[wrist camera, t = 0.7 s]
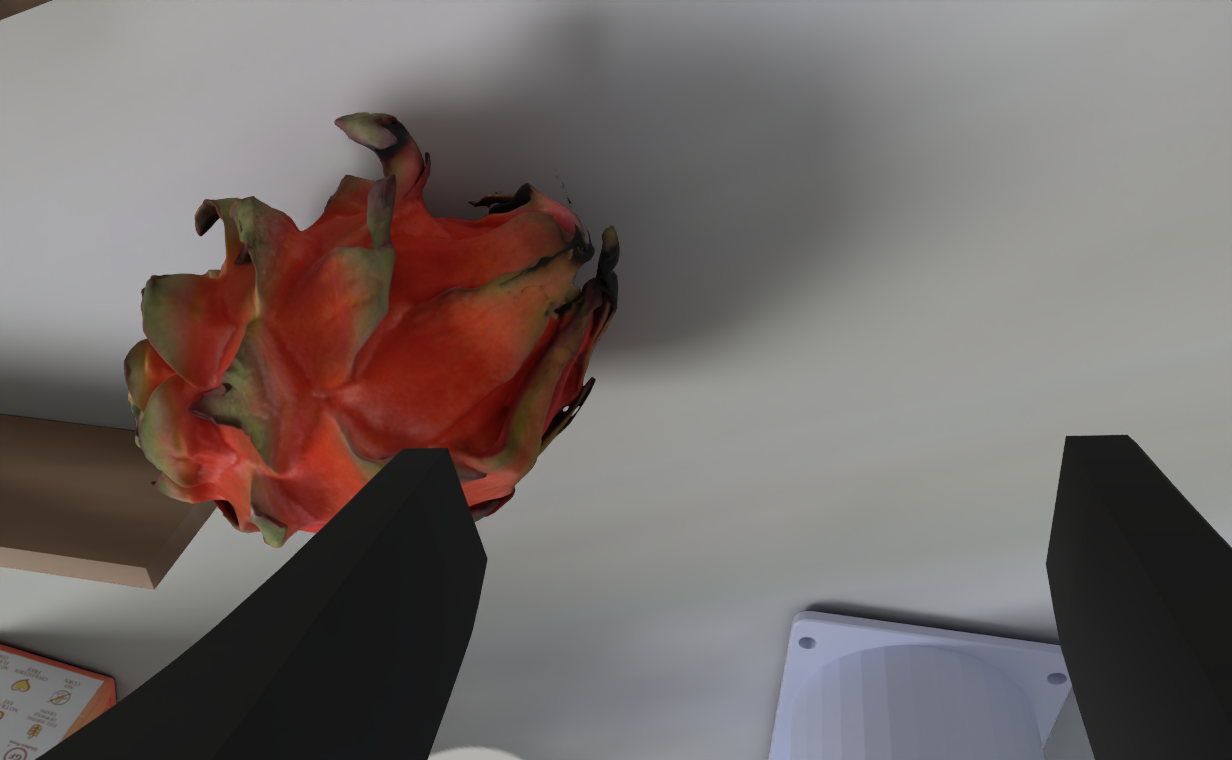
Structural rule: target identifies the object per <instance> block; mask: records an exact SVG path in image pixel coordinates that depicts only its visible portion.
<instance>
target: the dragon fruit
mask: <svg viewBox="0 0 1232 760" xmlns="http://www.w3.org/2000/svg"><path fill="white" fill-rule="evenodd" d="M335 125H336V126H338V127H339V128H340V129H341V130H343V131H344V132H345V133H346V134H347V136H348V137H349V138H350V139H352V140H354V141H355V142H357V143H359V144H361V145H364V146H366V147H367V148H369V149H371V150H373V151H374V152H375V153H376V154H377V156H378V157H379V159H380V161H381V163H382V166H383V172H384V176H385V178H383V179H381V180H378V181H376V182H374V181H370V180H366V179H362V178H358V177H354V176H351V175H345V177H344V178H343V179H342V180H341V182H340V185H339V187H338V189H337V191H336V193H335V194H334V195H333V196H331V197H330V198H329V200H328V202H327V205H326V207H325V209H324V213H323V214H322V216H321V217H320V218H319V219H318V220H317V221H316V222H315V223H314V224H313V225H312V226H310V227H309V228H307V229H306V230H304V231H300V230H299V229H298V228H297V226H296V224H295V223H294V222H293V220H292V219H291V218H290V217H289V216H287V215H286V214H285V213H283V212H282V211H279V210H277V209H274V208H271V207H270V206H268V205H267V204H265V203H263V202H261V201H260V200H258V199H256V198H255V197H254V196H251V197H247V198H244V199H239V198H226V199H219V200H209V199H206V200H204V202H203V204H202V205H201V206H200V207H199V208H198V210H197V212H196V214H195V227H196V231H197V233H198V235H199V236H202V235H204V234H205V233H206V232H207V231H208V230H209V229H210V228H211V227H212V226H213V224H214V223H215V222H216V221H217V220H218V219H219V218H221V219H222V220H223V222H224V226H225V245H226V260H225V262H224V264H223V265H222V268H221V270H208V271H207V273H206V274H204V275H195V274H173V275H162V276H156V275H154V276H153V275H152V276H151V278H150V279H149V280H148V281H147V283H146V287H145V288H143V289H142V291H141V293H142V302H141V311H142V316H143V331H144V333H145V335H146V337H147V339H145V340H142V341H140V342H138V343H137V344H136V345H135V346H134V347H133V348H132V349H131V350H130V351H129V353H128V355H127V356H126V358H125V360H124V372H125V379H126V382H127V385H128V388H129V393H128V401H129V402H130V405H131V410H132V414H133V415H134V416H135V421H136V429H135V434H136V436H135V442H136V444H137V446H138V447H140V448H141V449H142V450H143V451H144V454H145V457H146V458H147V459H148V460H149V461H150V462H151V463H152V464H153V465H155V467H156V468H157V469H159V470H162V471H163V472H162V473H161V474H160V476H159V477H158V479H157V481H153V482H151V485H153V486H154V487H155V488H156V489H157V490H159V491H160V492H162V493H164V494H165V495H167V496H169V497H171V498H174V499H177V500H180V501H183V502H189V503H191V504H194V503H200V502H204V501H210V500H213V501H214V502H215V504H216V505H217V506H218V508H219V509H220V510H221V511H222V512H223V516H224V517H226V518H227V520H228V521H229V522H230V523H231V524H232V526H233V527H234V528H235V529H237V530H239V531H241V532H246V533H252V532H262V534H263V538H264V542H265V543H266V544H268V545H271V546H272V547H274V548H279V547H282V546H283V545H284V543H285V542H286V541H287V539H288V538H289V537H291V536H292V535H293V534H294V533H295V532H297V531H298V530H302V531H307V532H313V533H317V532H318V531H319V530H321V529H322V528H323V527H324V526H325V525H326V524H327V523H328V522H329V521H330V520H331V519H332V518H333V517H334V516H335V515H336V514H337V513H338V512H339V511H340V510H341V509H342V508H343V507H344V506H345V505H346V504H347V503H348V502H349V501H350V500H351V499H352V498H353V497H354V496H355V495H356V494H357V493H358V492H359V491H360V490H361V489H362V488H363V487H364V486H365V485H366V484H367V483H368V482H369V481H370V480H371V479H372V478H373V477H374V476H375V475H376V474H377V473H378V472H379V471H380V470H381V469H382V468H383V467H384V466H385V465H386V464H387V463H388V462H389V461H390V460H392V459H393V458H394V457H395V456H396V455H397V454H398V453H399V452H400V451H401V450H402V449H407V448H448V449H449V452H450V455H451V458H452V461H453V464H454V466H455V469H456V472H457V475H458V478H459V480H460V483H461V486H462V489H463V492H464V494H465V497H466V500H467V503H468V506H469V508H470V511H471V514H472V517H473V520H474V522H476V521H478V520H480V519H481V518H483V517H486V516H489V515H491V514H493V513H495V512H496V511H497V510H498V509H499V508H501V507H502V506H503V505H504V504H505V503H506V502H508V501H509V500H510V499H511V498H512V497H513V495H514V493H515V485H516V484H517V483H518V482H519V481H520V480H521V479H522V478H523V477H524V476H525V475H526V474H527V473H528V472H529V471H530V470H531V469H532V468H533V466H534V465H535V463H536V460H537V457H538V456H539V455H540V454H541V453H542V452H543V451H544V450H545V449H546V447H547V446H548V445H549V444H550V443H551V441H552V440H553V439H554V438H555V437H556V436H557V435H558V434H560V433H561V432H562V431H563V430H564V429H565V428H566V427H567V426H568V425H569V424H570V423H571V421H572V420H573V418H574V417H575V415H576V414H577V412H578V411H579V409H580V408H581V406H582V405H583V403H584V402H585V400H586V399H587V397H588V395H589V393H590V392H591V389H592V387H593V385H594V383H595V378H593V377H591V378H590V380H589V381H588V382H587V383H586V384H585V386H583V380H584V376H585V373H586V370H587V367H588V364H589V360H590V356H591V353H592V351H593V348H594V347H595V345H596V343H597V342H598V341H599V339H600V338H601V336H602V335H603V333H604V332H605V331H606V329H607V327H608V325H609V324H610V322H611V320H612V318H613V316H614V314H615V312H616V309H617V294H618V281H617V275H616V274H615V272H614V271H613V269H614V267H615V266H616V264H617V262H618V259H619V253H620V249H619V242H618V237H617V234H616V231H615V228H614V226H610V227H609V228H606V229H605V230H604V232H603V234H602V240H603V244H602V249H601V253H600V257H599V262H598V269H597V275H596V278H592V279H590V280H589V281H588V282H587V283H586V284H585V285H584V286H583V289H582V292H581V291H580V289H579V288H578V287H577V286H576V285H575V284H574V283H573V282H572V281H573V279H574V278H575V277H576V276H575V275H576V272H577V270H578V269H579V268H580V267H581V266H582V265H583V264H584V263H585V262H587V261H589V260H590V259H591V258H592V257H593V255H594V253H595V249H594V247H593V245H592V243H591V240H590V235H589V244H588V243H587V242H586V241H585V239H584V237H585V234H584V230H583V227H582V224H581V222H580V220H579V218H578V217H577V216H576V215H575V214H574V213H572V212H571V211H570V210H569V209H567V208H566V207H565V206H563V205H562V204H560V203H558V202H556V201H555V200H553V199H551V198H549V197H548V196H546V195H545V194H543V193H541V192H540V191H538V190H537V189H535V188H534V187H533V186H531V185H530V184H528V183H526V184H524V185H522V187H521V188H520V189H519V190H518V191H517V193H516V194H513V195H499V194H497V193H496V194H489V195H486V196H484V197H482V198H481V199H480V200H477V201H470V202H468V203H470V204H471V205H473V206H475V207H478V206H487V207H490V205H491V204H495V203H498V204H496V205H494V206H493V207H492V208H491V209H490V208H489V209H490V210H489V214H488V216H485V217H484V218H482V219H480V220H473V221H466V220H461V219H456V218H434V217H432V216H431V215H430V214H429V212H428V211H427V209H426V207H425V204H424V201H423V197H422V190H423V188H424V186H425V184H426V182H427V179H428V177H429V174H430V165H431V161H430V155H429V153H428V152H426V153H425V162H426V166H425V167H424V160H423V157H422V154H421V152H420V150H419V148H418V146H417V144H416V142H415V141H414V140H413V138H412V137H411V136H410V134H409V133H408V131H407V130H406V128H405V127H404V126H403V124H402V123H400V122H399V121H398V120H397V119H396V117H394V116H391V115H388V114H383V113H375V114H369V113H355V114H352V115H346V116H342V117H340V118H338V119H336V120H335ZM555 170H556V169H555ZM557 178H558V177H557ZM562 184H563V183H562ZM563 186H564V185H563ZM562 188H563V187H562ZM564 188H565V187H564ZM500 193H501V192H500ZM566 193H567V192H566ZM565 195H566V194H565ZM567 196H568V195H567ZM567 196H566V197H567ZM567 199H568V201H569V205H570V203H571V202H570V200H569V198H567ZM571 204H572V203H571ZM580 217H581V216H580ZM587 231H588V230H587ZM588 234H589V232H588ZM566 406H569V408H568V410H567V411H563V408H564V407H566ZM578 406H580V407H579V409H578V410H577V412H576V413H575V414H574V415H573V416H572V414H573V412H574V410H575V409H576V408H577V407H578Z"/></svg>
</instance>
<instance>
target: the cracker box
mask: <svg viewBox="0 0 1232 760" xmlns="http://www.w3.org/2000/svg"><path fill="white" fill-rule="evenodd" d="M116 704H117V702H116V691H115V682H114V679H113V678H111V677H107V676H104V675H101V674H97V673H94V672H90V671H87V670H83V669H80V668H77V667H74V666H71V665H67V664H64V663H61V662H58V661H54V660H51V659H48V658H44V657H41V656H37V655H34V654H30V653H27V652H24V651H21V650H18V649H15V648H12V647H8V646H5V645H2V644H0V760H35V759H36V758H38V757H40V756H41V755H43V754H44V753H46V752H47V751H48V750H50V749H51V748H53V747H54V746H56V745H57V744H59V743H60V742H62V741H63V740H64V739H66V738H67V737H69V736H70V735H72V734H73V733H75V732H76V731H78V730H79V729H81V728H82V727H83V726H85V725H86V724H88V723H89V722H91V721H92V720H94V719H95V718H97V717H98V716H100V715H101V714H102V713H104V712H105V711H107V710H108V709H110V708H111V707H113V706H114V705H116Z"/></svg>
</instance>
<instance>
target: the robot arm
mask: <svg viewBox="0 0 1232 760" xmlns="http://www.w3.org/2000/svg"><path fill="white" fill-rule="evenodd" d="M486 564H487V556H486V553H485V551H484V548H483V545H482V542H481V539H480V537H479V534H478V531H477V528H476V525H475V523H474V520H473V517H472V514H471V511H470V508H469V506H468V503H467V500H466V497H465V494H464V492H463V489H462V486H461V483H460V480H459V478H458V475H457V472H456V469H455V466H454V464H453V461H452V458H451V455H450V452H449V449H448V448H407V449H402V450H401V451H400V452H399V453H398V454H397V455H396V456H395V457H394V458H393V459H392V460H390V461H389V462H388V463H387V464H386V465H385V466H384V467H383V468H382V469H381V470H380V471H379V472H378V473H377V474H376V475H375V476H374V477H373V478H372V479H371V480H370V481H369V482H368V483H367V484H366V485H365V486H364V487H363V488H362V489H361V490H360V491H359V492H358V493H357V494H356V495H355V496H354V497H353V498H352V499H351V500H350V501H349V502H348V503H347V504H346V505H345V506H344V507H343V508H342V509H341V510H340V511H339V512H338V513H337V514H336V515H335V516H334V517H333V518H332V519H331V520H330V521H329V522H328V523H327V524H326V525H325V526H324V527H323V528H322V529H321V530H319V531H318V532H317V533H316V534H315V535H314V536H313V537H312V538H311V539H310V540H309V541H308V542H307V543H306V544H305V545H304V546H303V547H302V548H301V549H300V550H299V551H298V552H297V553H296V554H295V555H294V556H293V557H292V558H291V559H290V560H289V561H288V562H287V563H286V564H284V565H283V566H282V567H281V568H280V569H279V570H278V571H277V572H276V573H275V574H274V575H272V576H271V577H270V578H269V579H268V580H267V581H266V582H265V583H264V584H262V585H261V586H260V587H259V588H258V589H257V590H256V591H255V592H253V593H252V594H251V595H250V596H249V597H248V598H247V599H246V600H245V601H243V602H242V603H241V604H240V605H239V606H238V607H237V608H236V609H235V610H233V611H232V612H231V613H230V614H229V615H228V616H227V617H226V618H224V619H223V620H222V621H221V622H220V623H219V624H218V625H217V626H216V627H214V628H213V629H212V630H211V631H210V632H208V633H207V634H206V635H205V636H204V637H202V638H201V639H200V640H199V641H198V642H196V643H195V644H194V645H193V646H191V647H190V648H189V649H188V650H187V651H185V652H184V653H183V654H182V655H180V656H179V657H178V658H177V659H175V660H174V661H173V662H171V663H170V664H169V665H168V666H166V667H165V668H164V669H162V670H161V671H160V672H158V673H157V674H156V675H155V676H153V677H152V678H151V679H149V680H148V681H147V682H145V683H144V684H143V685H142V686H140V687H139V688H138V689H136V690H135V691H134V692H132V693H131V694H129V695H128V696H127V697H125V698H124V699H123V700H121V701H120V702H118V703H117V704H116V705H114V706H113V707H111V708H110V709H108V710H107V711H105V712H104V713H102V714H101V715H100V716H98V717H97V718H95V719H94V720H92V721H91V722H89V723H88V724H86V725H85V726H83V727H82V728H81V729H79V730H78V731H76V732H75V733H73V734H72V735H70V736H69V737H67V738H66V739H64V740H63V741H62V742H60V743H59V744H57V745H56V746H54V747H53V748H51V749H50V750H48V751H47V752H46V753H44V754H43V755H41V756H40V757H38V758H36V759H35V760H427V759H428V757H429V754H430V751H431V748H432V745H433V743H434V740H435V737H436V734H437V731H438V729H439V726H440V723H441V720H442V717H443V715H444V712H445V709H446V706H447V703H448V701H449V698H450V695H451V692H452V689H453V687H454V684H455V681H456V678H457V675H458V672H459V669H460V666H461V664H462V661H463V658H464V655H465V652H466V649H467V646H468V643H469V640H470V637H471V634H472V630H473V626H474V622H475V617H476V613H477V609H478V604H479V600H480V595H481V590H482V584H483V579H484V574H485V569H486ZM1046 567H1047V573H1048V579H1049V585H1050V591H1051V597H1052V603H1053V609H1054V614H1055V619H1056V625H1057V630H1058V635H1059V641H1060V645H1054V644H1046V643H1039V642H1032V641H1025V640H1017V639H1010V638H1003V637H996V636H988V635H981V634H974V633H967V632H960V631H952V630H945V629H938V628H931V627H923V626H916V625H909V624H902V623H894V622H887V621H880V620H873V619H866V618H858V617H851V616H844V615H837V614H829V613H822V612H815V611H804V612H800V613H798V614H797V615H795V616H794V618H793V621H792V626H791V632H790V638H789V643H788V649H787V655H786V660H785V666H784V672H783V677H782V683H781V689H780V694H779V700H778V706H777V711H776V717H775V722H774V728H773V734H772V739H771V745H770V751H769V756H768V760H1045V756H1044V752H1043V748H1044V745H1045V743H1046V741H1047V739H1048V737H1049V735H1050V732H1051V730H1052V728H1053V726H1054V724H1055V722H1056V720H1057V717H1058V715H1059V713H1060V711H1061V709H1062V707H1063V704H1064V702H1065V700H1066V698H1067V696H1068V694H1069V692H1070V689H1071V687H1073V690H1074V693H1075V696H1076V700H1077V703H1078V706H1079V710H1080V713H1081V716H1082V719H1083V722H1084V726H1085V729H1086V732H1087V735H1088V738H1089V742H1090V745H1091V748H1092V751H1093V754H1094V758H1095V760H1232V547H1231V546H1230V545H1229V544H1228V543H1227V542H1226V541H1225V540H1224V539H1223V538H1222V537H1221V536H1220V535H1219V534H1218V533H1217V532H1216V531H1215V530H1214V529H1213V527H1212V526H1211V525H1210V524H1209V523H1208V522H1207V521H1206V520H1205V519H1204V518H1203V517H1202V516H1201V514H1200V513H1199V512H1198V511H1197V510H1196V509H1195V508H1194V507H1193V506H1192V505H1191V504H1190V503H1189V501H1188V500H1187V499H1186V498H1185V497H1184V496H1183V495H1182V494H1181V493H1180V491H1179V490H1178V489H1177V488H1176V487H1175V486H1174V485H1173V484H1172V483H1171V481H1170V480H1169V479H1168V478H1167V477H1166V476H1165V475H1164V474H1163V472H1162V471H1161V470H1160V469H1159V468H1158V467H1157V466H1156V465H1155V463H1154V462H1153V461H1152V460H1151V459H1150V458H1149V457H1148V455H1147V454H1146V453H1145V452H1144V451H1143V450H1142V449H1141V448H1140V446H1139V445H1138V444H1137V443H1136V442H1135V441H1134V440H1133V439H1131V438H1130V437H1129V436H1128V435H1099V436H1066V439H1065V446H1064V452H1063V458H1062V465H1061V471H1060V478H1059V484H1058V490H1057V497H1056V503H1055V510H1054V516H1053V522H1052V529H1051V535H1050V542H1049V548H1048V554H1047V561H1046ZM804 637H810V638H804Z"/></svg>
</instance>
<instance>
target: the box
mask: <svg viewBox="0 0 1232 760" xmlns="http://www.w3.org/2000/svg"><path fill="white" fill-rule="evenodd" d="M49 1H52V0H0V20H2V19H4V18H7V17H10V16H12V15H15V14H18V13H20V12H23V11H25V10H28V9H31V8H33V7H36V6H39V5H41V4H44V3H46V2H49ZM135 436H136V434H135V431H130V430H122V429H114V428H106V427H98V426H90V425H82V424H74V423H66V422H58V421H50V420H42V419H34V418H26V417H18V416H10V415H2V414H0V567H6V568H13V569H19V570H26V571H33V572H40V573H46V574H53V575H60V576H66V577H73V578H80V579H86V580H93V581H100V582H107V583H113V584H120V585H127V586H133V587H140V588H147V589H154V590H155V588H156V587H157V586H158V584H159V583H160V582H161V580H162V579H163V578H164V576H165V575H166V574H167V572H168V571H169V570H170V568H171V567H172V566H173V564H174V563H175V562H176V560H177V559H178V558H179V556H180V555H181V554H182V552H183V551H184V550H185V548H186V547H187V546H188V544H189V543H190V542H191V540H192V539H193V538H194V536H195V535H196V534H197V532H198V531H199V530H200V528H201V527H202V526H203V525H204V523H205V522H206V521H207V519H208V518H209V517H210V515H211V514H212V513H213V511H214V510H215V509H216V507H217V505H216V504H215V502H214V501H213V500H210V501H204V502H200V503H194V504H191V503H189V502H183V501H180V500H177V499H174V498H171V497H169V496H167V495H165V494H164V493H162V492H160V491H159V490H157V489H156V488H155V487H154V486H153V485H151V482H153V481H157V479H158V477H159V476H160V474H161V473H162V472H163V471H162V470H159V469H157V468H156V467H155V465H153V464H152V463H151V462H150V461H149V460H148V459H147V458H146V457H145V454H144V451H143V450H142V449H141V448H140V447H138V446H137V444H136V442H135Z"/></svg>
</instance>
